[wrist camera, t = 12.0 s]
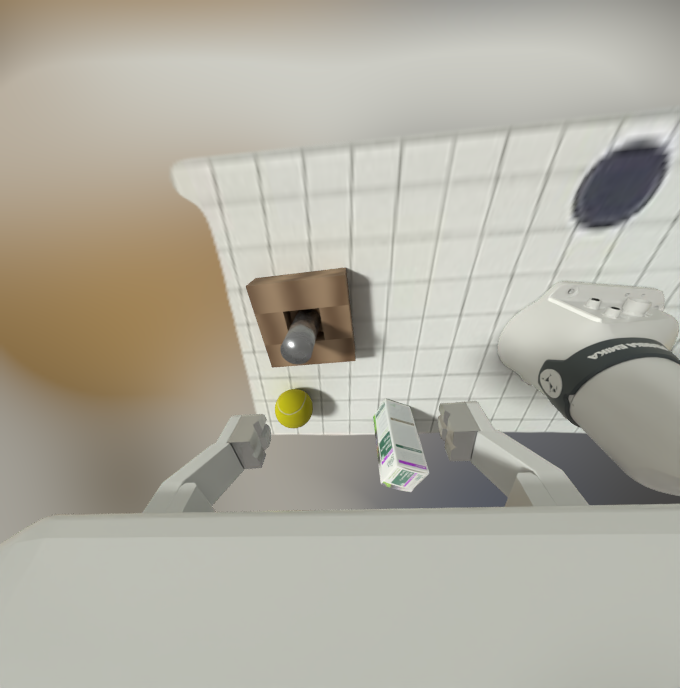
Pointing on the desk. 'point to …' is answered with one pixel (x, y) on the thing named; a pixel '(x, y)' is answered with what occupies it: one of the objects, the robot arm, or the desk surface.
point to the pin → (301, 337)
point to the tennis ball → (293, 408)
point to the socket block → (298, 294)
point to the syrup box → (398, 447)
